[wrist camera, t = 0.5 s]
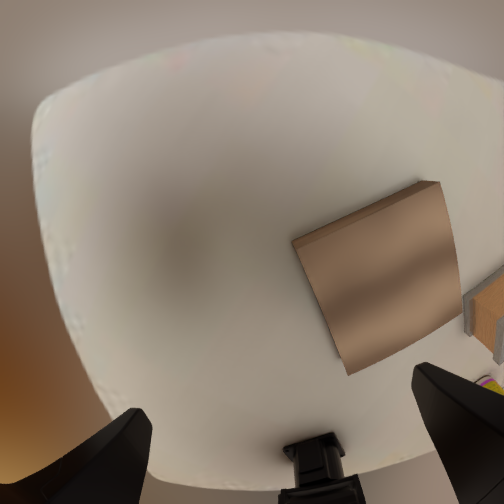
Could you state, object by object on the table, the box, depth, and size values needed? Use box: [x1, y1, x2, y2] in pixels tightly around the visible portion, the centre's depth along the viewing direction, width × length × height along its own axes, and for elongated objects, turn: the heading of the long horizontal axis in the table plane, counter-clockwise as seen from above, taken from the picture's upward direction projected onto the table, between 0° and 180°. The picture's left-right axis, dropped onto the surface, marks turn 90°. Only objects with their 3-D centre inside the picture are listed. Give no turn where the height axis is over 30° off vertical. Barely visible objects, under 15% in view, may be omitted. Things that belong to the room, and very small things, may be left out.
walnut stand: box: [292, 181, 462, 376], centre depth 19 cm, size 12×12×2 cm
